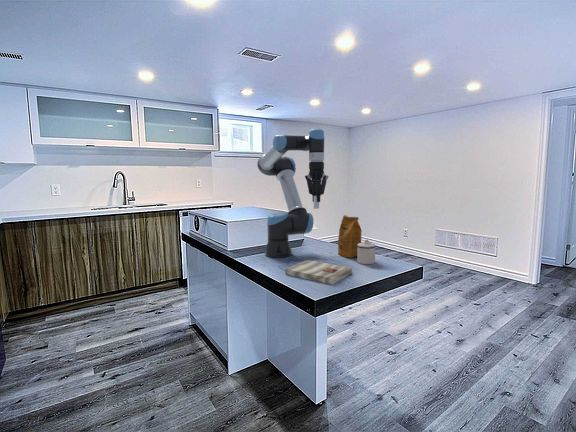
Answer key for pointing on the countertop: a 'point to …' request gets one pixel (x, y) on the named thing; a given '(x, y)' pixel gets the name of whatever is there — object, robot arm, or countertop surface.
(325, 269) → the ball
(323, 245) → the countertop surface
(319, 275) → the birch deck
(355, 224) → the coffee package
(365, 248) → the teacup with lid
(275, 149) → the robot arm
